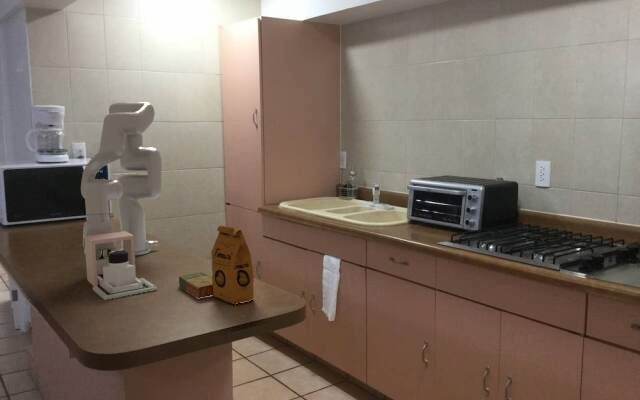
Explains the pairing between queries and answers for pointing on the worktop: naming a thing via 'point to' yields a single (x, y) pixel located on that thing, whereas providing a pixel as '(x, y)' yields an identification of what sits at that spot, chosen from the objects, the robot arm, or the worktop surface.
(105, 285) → the rack
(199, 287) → the carton
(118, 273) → the medicine bottle
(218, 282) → the coffee package
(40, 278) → the worktop surface
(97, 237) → the cubby
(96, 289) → the frame
